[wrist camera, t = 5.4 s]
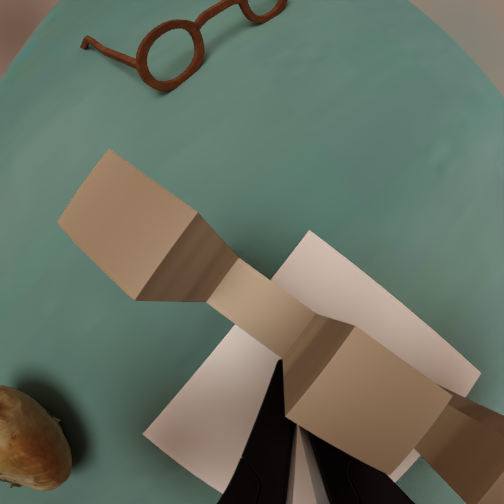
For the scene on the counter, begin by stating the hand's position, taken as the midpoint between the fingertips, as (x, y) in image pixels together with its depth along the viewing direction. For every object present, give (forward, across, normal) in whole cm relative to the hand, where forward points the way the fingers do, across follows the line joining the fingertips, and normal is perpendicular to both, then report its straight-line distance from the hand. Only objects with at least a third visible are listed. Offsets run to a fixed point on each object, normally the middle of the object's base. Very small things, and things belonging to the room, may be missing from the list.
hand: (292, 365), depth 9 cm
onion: (0, +16, +8) cm, 18 cm away
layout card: (+1, -1, +7) cm, 7 cm away
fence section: (+4, -1, +3) cm, 5 cm away
